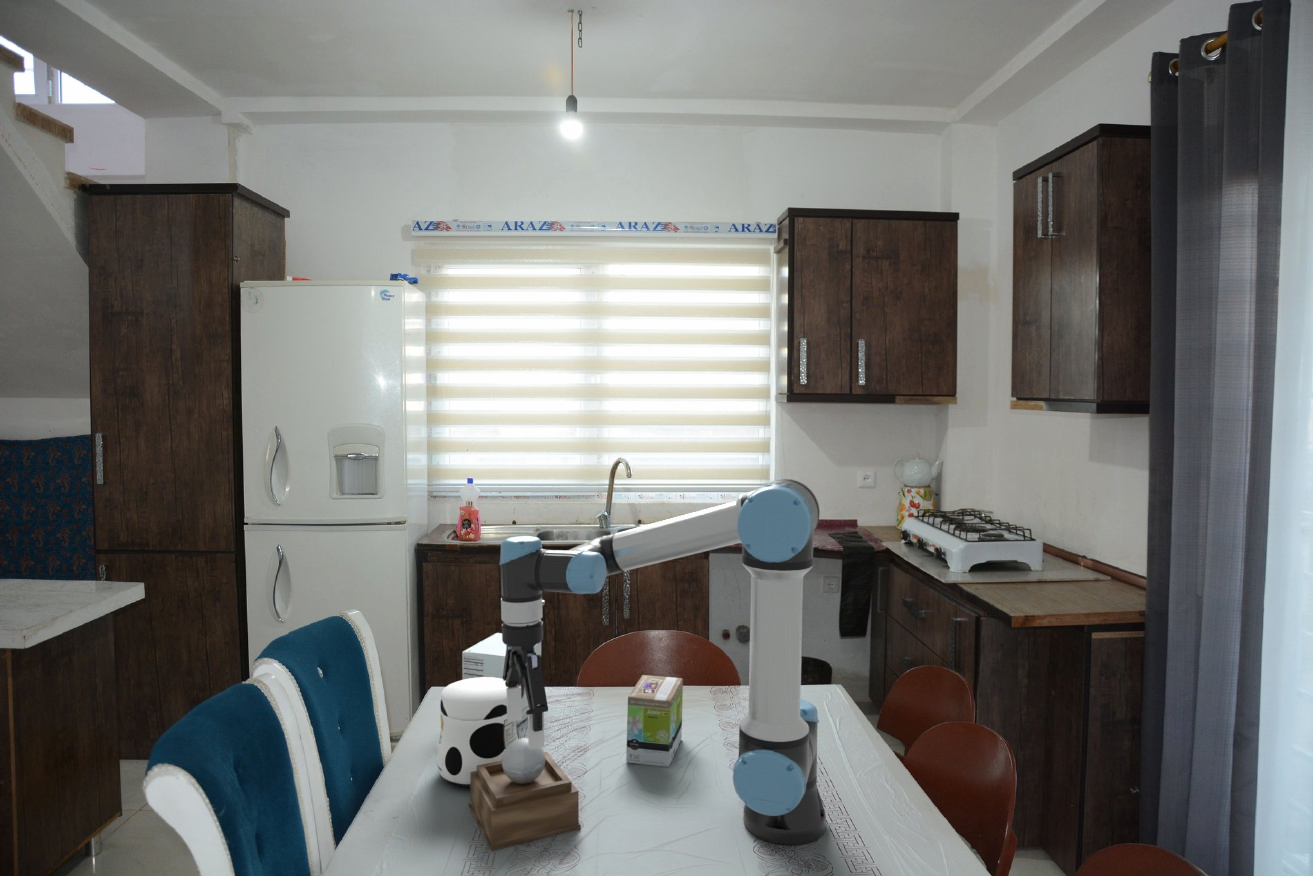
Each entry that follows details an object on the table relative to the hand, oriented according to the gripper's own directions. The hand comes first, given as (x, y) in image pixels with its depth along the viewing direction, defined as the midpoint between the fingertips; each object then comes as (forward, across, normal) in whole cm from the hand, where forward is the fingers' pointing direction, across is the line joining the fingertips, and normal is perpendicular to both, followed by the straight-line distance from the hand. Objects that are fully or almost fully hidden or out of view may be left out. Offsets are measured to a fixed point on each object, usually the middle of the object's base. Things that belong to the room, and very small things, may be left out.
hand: (525, 733), depth 151 cm
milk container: (+16, +22, +4) cm, 27 cm away
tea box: (+17, +16, -34) cm, 41 cm away
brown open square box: (+16, 0, +1) cm, 16 cm away
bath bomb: (+9, 0, 0) cm, 9 cm away
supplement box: (+16, +50, -9) cm, 53 cm away
